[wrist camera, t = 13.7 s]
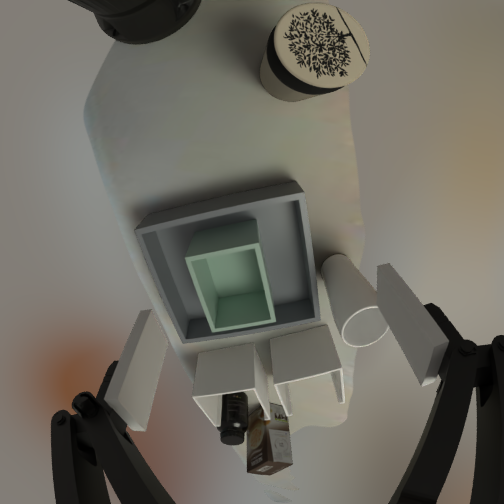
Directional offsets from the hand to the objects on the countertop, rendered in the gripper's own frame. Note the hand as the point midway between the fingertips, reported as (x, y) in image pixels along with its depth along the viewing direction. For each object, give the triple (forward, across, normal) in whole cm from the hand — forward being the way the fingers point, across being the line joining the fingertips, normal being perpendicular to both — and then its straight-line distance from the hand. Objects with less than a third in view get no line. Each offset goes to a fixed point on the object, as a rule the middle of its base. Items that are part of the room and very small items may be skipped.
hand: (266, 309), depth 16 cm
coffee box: (+27, -8, -53) cm, 60 cm away
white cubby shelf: (+27, -4, -33) cm, 43 cm away
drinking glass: (+27, +10, -15) cm, 32 cm away
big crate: (+27, -5, -10) cm, 29 cm away
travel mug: (+27, +8, +15) cm, 32 cm away
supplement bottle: (+27, -14, -44) cm, 53 cm away
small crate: (+26, -5, -10) cm, 28 cm away
